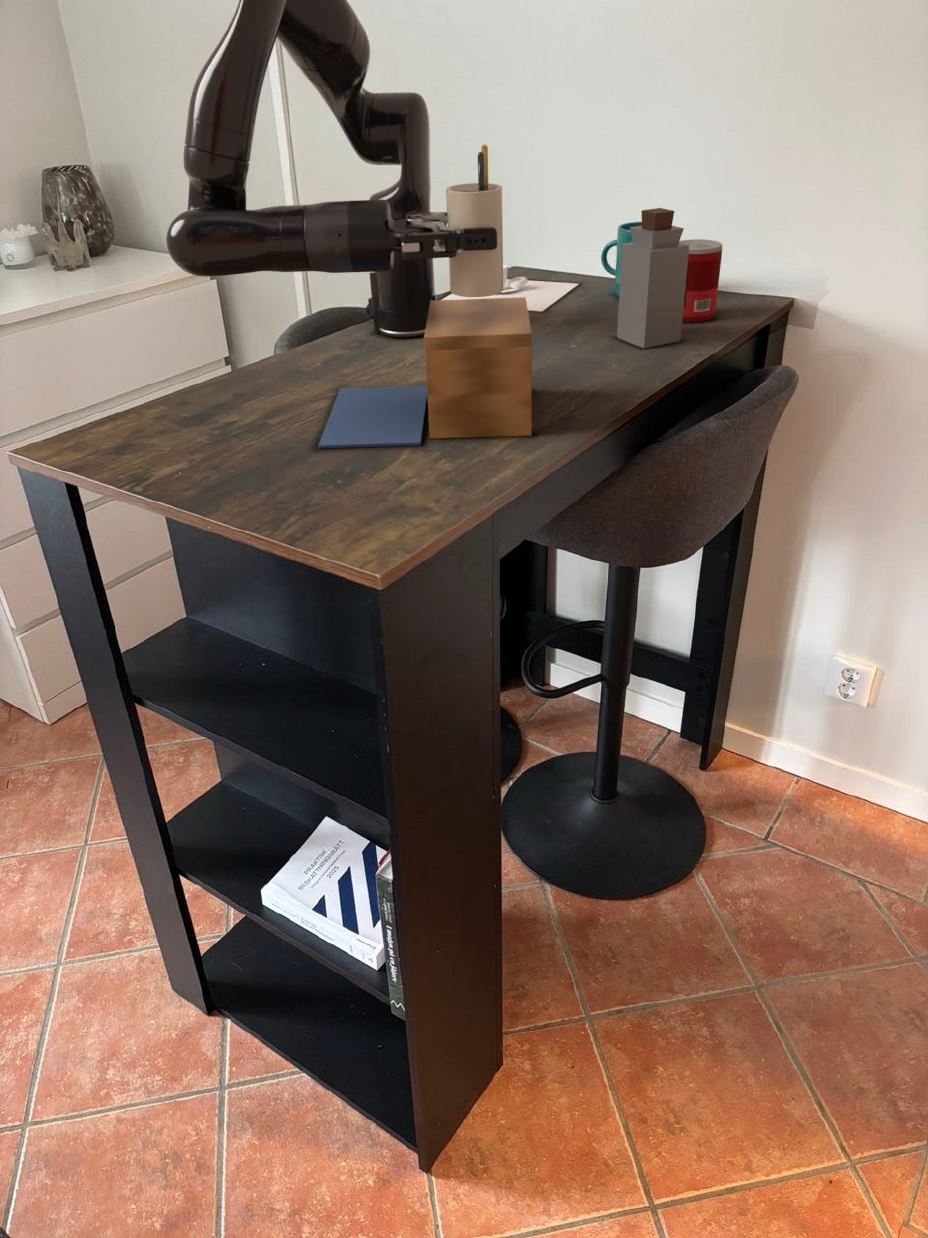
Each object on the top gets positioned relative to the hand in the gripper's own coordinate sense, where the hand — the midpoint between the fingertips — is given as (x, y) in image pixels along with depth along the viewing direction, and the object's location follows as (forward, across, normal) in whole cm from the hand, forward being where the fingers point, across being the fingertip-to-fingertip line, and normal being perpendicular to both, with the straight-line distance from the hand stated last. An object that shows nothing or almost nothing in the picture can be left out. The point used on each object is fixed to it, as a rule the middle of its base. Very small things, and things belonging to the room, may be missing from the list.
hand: (496, 231), depth 103 cm
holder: (-2, 0, +6) cm, 7 cm away
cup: (+25, +56, +22) cm, 65 cm away
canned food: (+32, +41, +22) cm, 56 cm away
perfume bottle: (+23, +29, +22) cm, 43 cm away
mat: (-15, 0, +21) cm, 26 cm away
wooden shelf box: (-2, 0, +21) cm, 21 cm away
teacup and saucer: (+3, +60, +22) cm, 64 cm away
